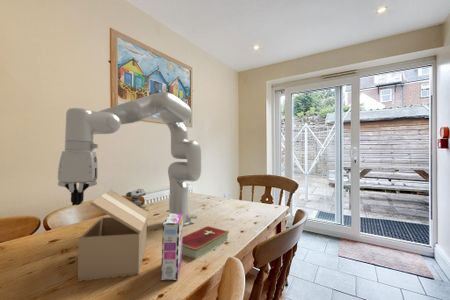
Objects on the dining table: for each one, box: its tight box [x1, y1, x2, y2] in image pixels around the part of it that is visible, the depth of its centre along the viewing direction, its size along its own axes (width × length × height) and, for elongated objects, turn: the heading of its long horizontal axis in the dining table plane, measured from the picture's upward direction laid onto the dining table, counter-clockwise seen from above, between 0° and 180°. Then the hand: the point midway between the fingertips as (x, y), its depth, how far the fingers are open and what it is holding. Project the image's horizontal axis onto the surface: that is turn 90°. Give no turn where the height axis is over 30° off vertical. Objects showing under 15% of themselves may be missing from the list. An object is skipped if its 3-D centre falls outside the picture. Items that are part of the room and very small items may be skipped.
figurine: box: [125, 188, 147, 210], centre depth 120 cm, size 9×12×15 cm
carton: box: [77, 216, 148, 282], centre depth 72 cm, size 16×20×12 cm
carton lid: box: [90, 189, 149, 234], centre depth 73 cm, size 16×20×1 cm
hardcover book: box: [182, 225, 230, 260], centre depth 86 cm, size 12×21×4 cm, turn 146°
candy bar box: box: [160, 213, 184, 281], centre depth 67 cm, size 11×5×16 cm, turn 5°
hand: (77, 204), depth 69 cm, fingers closed
